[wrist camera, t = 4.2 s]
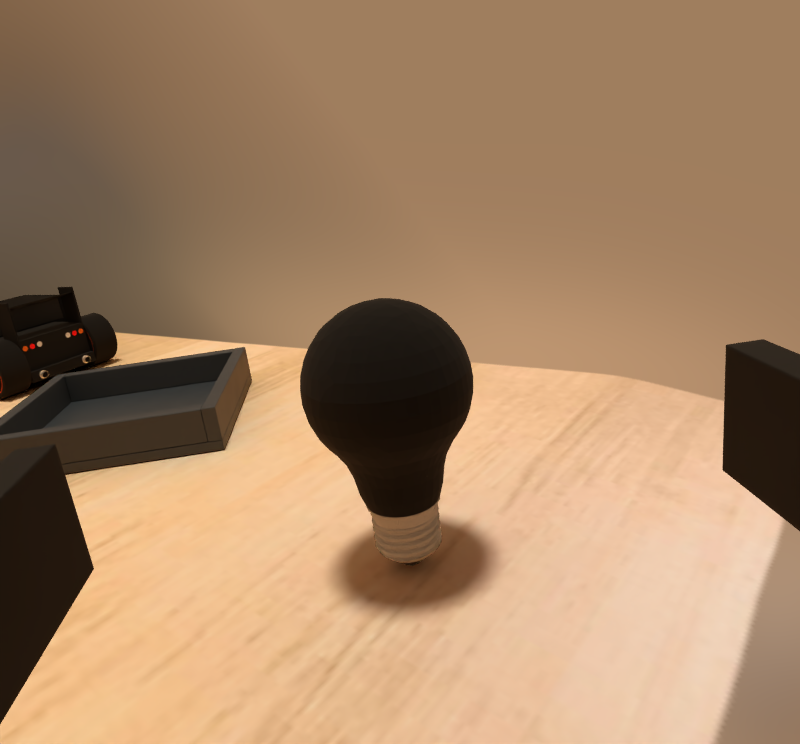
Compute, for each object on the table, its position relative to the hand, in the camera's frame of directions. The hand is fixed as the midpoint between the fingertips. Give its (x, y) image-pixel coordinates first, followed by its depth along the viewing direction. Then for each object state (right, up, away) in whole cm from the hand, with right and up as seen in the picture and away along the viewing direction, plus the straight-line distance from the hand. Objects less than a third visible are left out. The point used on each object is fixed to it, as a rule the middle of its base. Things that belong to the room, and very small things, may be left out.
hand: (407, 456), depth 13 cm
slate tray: (-17, -2, +30) cm, 35 cm away
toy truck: (-36, +1, +48) cm, 61 cm away
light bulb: (0, -6, +12) cm, 13 cm away
